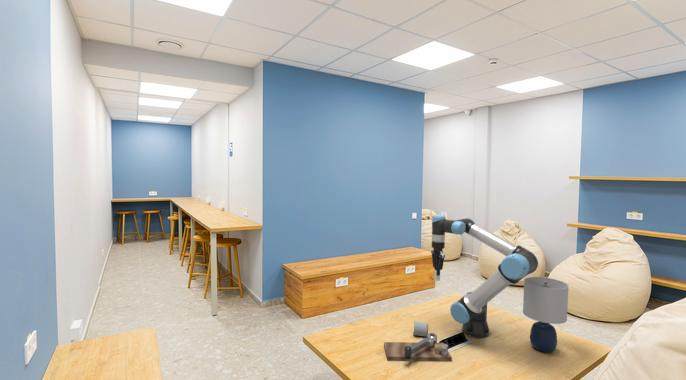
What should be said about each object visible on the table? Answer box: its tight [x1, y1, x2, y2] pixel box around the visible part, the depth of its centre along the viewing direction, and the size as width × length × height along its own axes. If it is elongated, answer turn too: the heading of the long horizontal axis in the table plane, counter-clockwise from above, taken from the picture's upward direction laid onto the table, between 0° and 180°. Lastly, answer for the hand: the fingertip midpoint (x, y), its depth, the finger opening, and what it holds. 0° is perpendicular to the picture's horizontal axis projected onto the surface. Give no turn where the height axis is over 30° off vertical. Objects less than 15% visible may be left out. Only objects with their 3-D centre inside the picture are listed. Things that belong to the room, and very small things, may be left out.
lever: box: [404, 332, 438, 359], centre depth 180 cm, size 26×5×5 cm, turn 134°
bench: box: [383, 341, 453, 362], centre depth 183 cm, size 32×15×6 cm, turn 90°
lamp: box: [522, 276, 569, 353], centre depth 188 cm, size 20×20×37 cm
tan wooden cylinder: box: [435, 344, 442, 354], centre depth 180 cm, size 4×4×4 cm
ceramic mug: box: [413, 320, 429, 337], centre depth 205 cm, size 11×8×8 cm
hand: (437, 280), depth 211 cm, fingers closed
